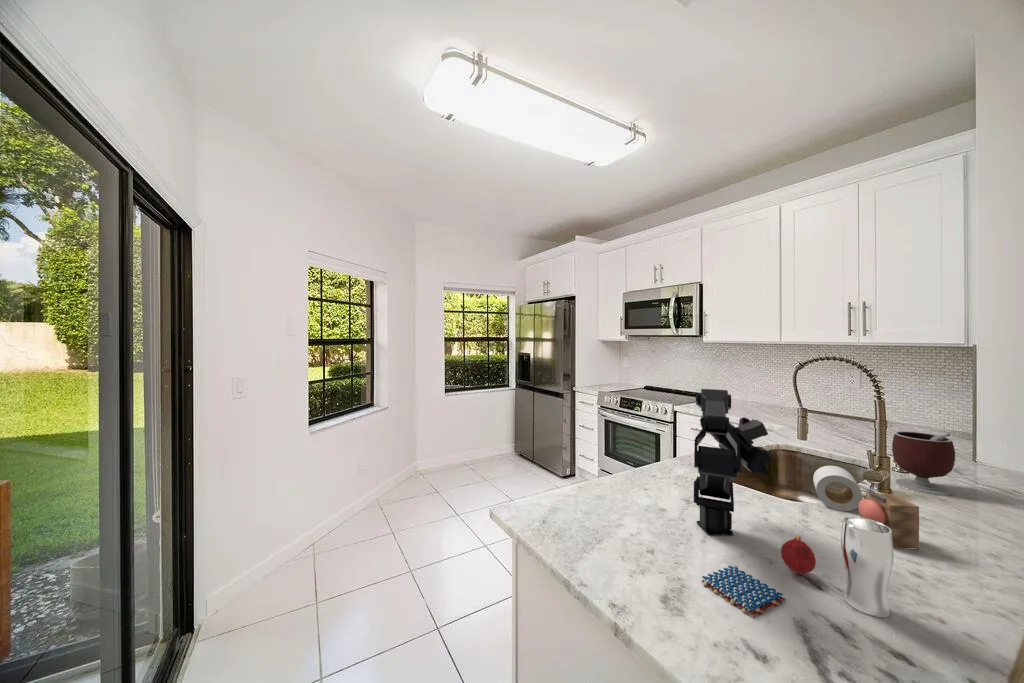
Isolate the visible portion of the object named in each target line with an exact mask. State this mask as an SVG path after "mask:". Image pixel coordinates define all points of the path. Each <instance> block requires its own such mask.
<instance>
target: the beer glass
mask: <svg viewBox="0 0 1024 683" xmlns="http://www.w3.org/2000/svg"><path fill="white" fill-rule="evenodd" d="M841 523H842V526H841V534H840V535H841V537H840V542H841V543H840V546H841V553H842V558H843V563H844V564H843V565H844V568H845V573H846V585H845V586H846V587H845V590H844V594H843V597H844V601H845V602H846V603H847V604H848V605H849V606H851V607H852V608H853V609H855V610H857V611H859V612H861V613H862V614H866V615H868V616H872V617H876V618H887V617H889V616H890V614H891V611H890V610H891V609H890V606H889V600H888V596H887V595H888V594H887V593H888V587H889V586H888V585H889V581H890V578H891V574H892V570H893V565H894V554H895V553H894V548H893V540H892V530H891V529H890V528H889V527H887V526H886V525H884V524H882V523H879V522H877V521H874V520H871V519H867V518H862V517H861V516H853V515H848V516H844V517H842V522H841Z"/></svg>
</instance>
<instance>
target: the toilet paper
mask: <svg viewBox="0 0 1024 683" xmlns="http://www.w3.org/2000/svg"><path fill="white" fill-rule="evenodd" d="M812 480H813V485H814V488H815V492H816V495H817V497H818V499H819V500H820V501H821V502H822V503H823V504H824V505H826V507H829V508H830V509H833V510H835V511H840V512H849V511H853V510H855V509H858V505H859V502H860V501H861V500H863V492H862V491H861V488H860V487H859V485H858V483H857V481H856V480H855V478H854V477H853V475H852V474H851V473H850V471H847V469H845V468H842V467H840V466H835V465H824V466H821V467H819V468H817V469H816V471H815V472H814V474H813V479H812ZM831 483H832V484H833V483H840V484H843V485H846V488H844V490H841V491H832V490H829V489H827V488H826V487H827V486H828V485H829V484H831Z"/></svg>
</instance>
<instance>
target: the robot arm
mask: <svg viewBox="0 0 1024 683" xmlns="http://www.w3.org/2000/svg"><path fill="white" fill-rule="evenodd" d="M695 406H698V408H700V411H701V412H702V414H701V417H700V419H699V421H700V423H699V424H700V427H701V429H700V431H699V432H698V434H697V435H696V436H695V438H694V453H693V454H694V456H693V457H694V464H693V465H694V466H693V467H694V468H697V473H698V474H699V476H696V478H695V480H694V481H693V503H695V504H696V506H698V507H699V520H696V524H697V525H698V526H699V527H700V528H701V529H702V530H703V531H704V532H705V534H707V535H708V536H734V532H733V530H732V528H733V525H732V524H733V518H732V516H733V514H732V513H734V511H735V509H734V508H735V501H734V484H733V481H731V480H736V479H737V477H738V476H737V475H740V474H741V473H742V471H741V469H742V468H741V465H742V466H743V467H745V468H746V469H747V470H748V471H749V472H751V473H753V474H754V473H755V474H756V473H760V474H762V475H764V476H768V475H769V474H770V472H769V470H768V468H767V467H766V464H768V463H769V462H770V461H771V460H772V459H773V455H772V454H771V452H769V451H768V450H766V448H763V447H761V446H755V445H753V444H754V443H755V442H754V441H753V440H756V439H759V438H761V437H767V436H768V435H769V432H768V430H767V429H766V428H767V427H766V426H765V425H764V422H762V421H760V420H759V419H751V420H750V419H749V418H747V417H745V416H743V417H741V418H739V423H738V424H737V425H738V426H735V425H733V424H731V423H730V418H729V417H730V416H729V417H728V416H726V415H727V414H729V411H731V409H732V394H730V393H729V391H728V389H716V388H715V389H714V388H701V389H700V392H697V395H696V396H695ZM707 434H710V436H711V437H712V438H713V439H714V440H715V442H717V443H718V447H713V446H705V445H704V446H703V445H700V444H701V442H702V441H703V439H704V438H705V437H706V435H707ZM702 496H704V497H702ZM707 497H708V498H707ZM709 497H711V498H709ZM714 498H716V499H714ZM719 499H722V500H719ZM725 500H728V501H725Z"/></svg>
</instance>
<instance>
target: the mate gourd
mask: <svg viewBox="0 0 1024 683" xmlns="http://www.w3.org/2000/svg"><path fill="white" fill-rule="evenodd" d="M949 437H951V434H950V433H943V434H934V433H926V432H918V431H903V430H901V431H894V435H893V438H892V442H891V443H892V444H891V447H892V448H891V451H892V456H893V460H894V462H895V463H896V464H897V466H898V467H900V469H901V470H904V471H905V472H907V473H910V474H911V475H913V476H915V478H914V479H913V478H898V479H895V484H896V485H897V486H899V487H901V488H903V487H904V488H903V489H906V488H908V489H907V490H909V489H911V490H910V491H912V490H915V491H914V492H916V491H919V492H918V493H920V492H922V494H925V493H927V494H926V495H931V494H934V495H933V496H941V495H944V496H945V495H946V496H950V495H952V491H951V489H949V488H947V487H946V486H942V485H939V484H936V483H932V482H930V480H929V479H930V478H943V477H946V476H947V475H948V474H949V473H951V472H952V471H953V469H954V466H955V462H956V451H955V445H954V442H953V439H952V438H949Z"/></svg>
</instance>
